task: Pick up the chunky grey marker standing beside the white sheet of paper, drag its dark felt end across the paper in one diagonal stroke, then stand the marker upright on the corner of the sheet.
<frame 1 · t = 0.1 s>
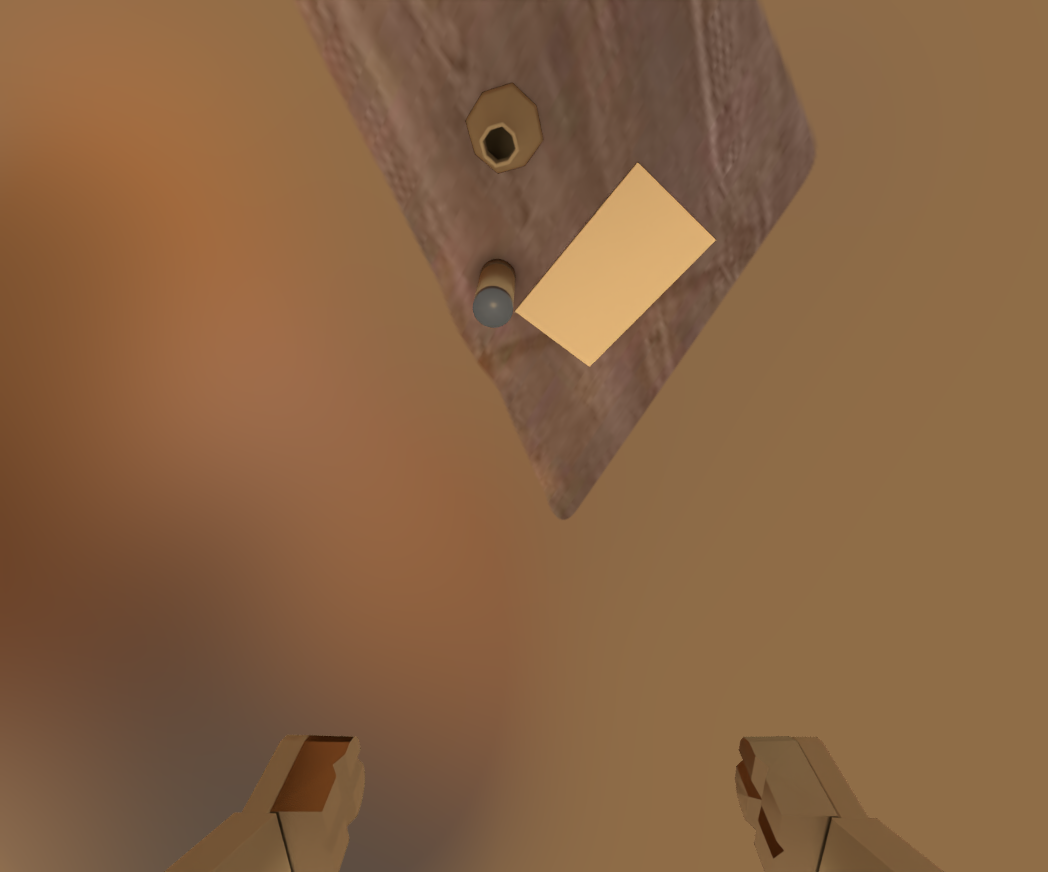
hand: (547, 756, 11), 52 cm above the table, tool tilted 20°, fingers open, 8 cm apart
paper: (610, 276, 57), on the table
flask: (504, 129, 48), on the table
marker: (497, 276, 57), on the table
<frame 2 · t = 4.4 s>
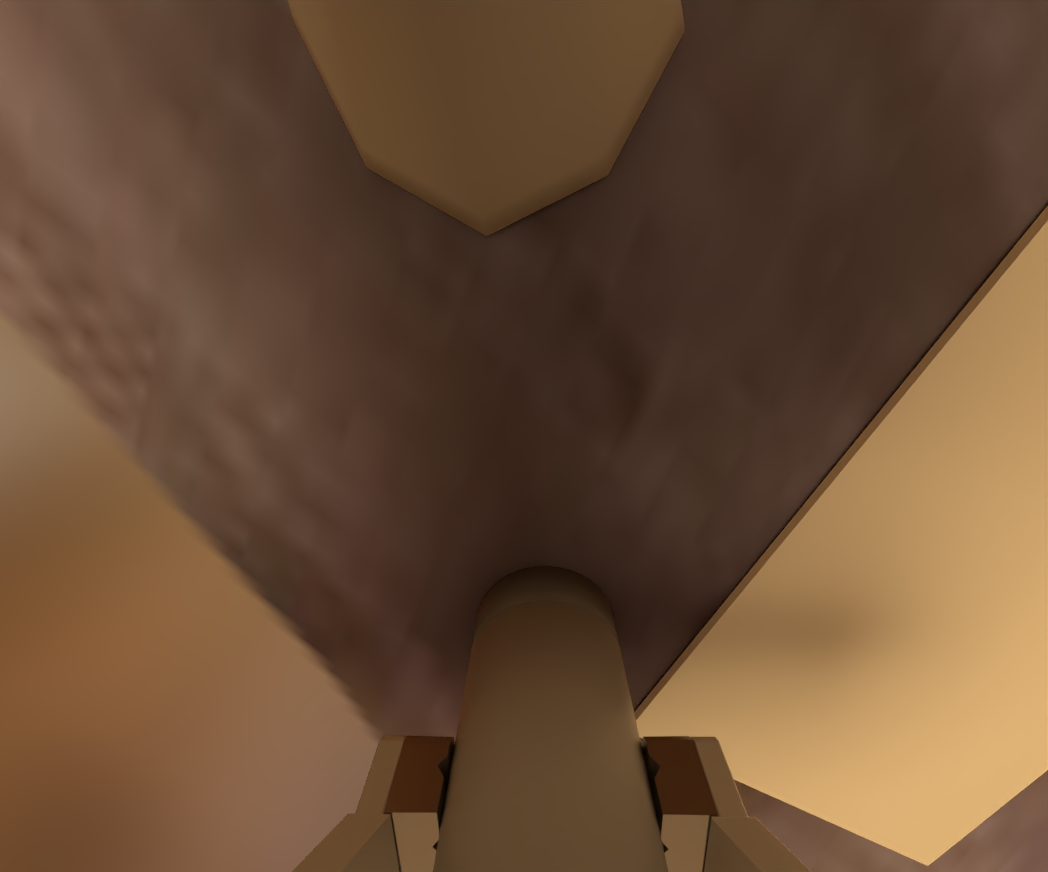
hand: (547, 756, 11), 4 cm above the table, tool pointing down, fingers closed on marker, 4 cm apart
paper: (1012, 564, 13), on the table
flask: (490, 35, 10), on the table
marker: (544, 625, 15), on the table, touching gripper
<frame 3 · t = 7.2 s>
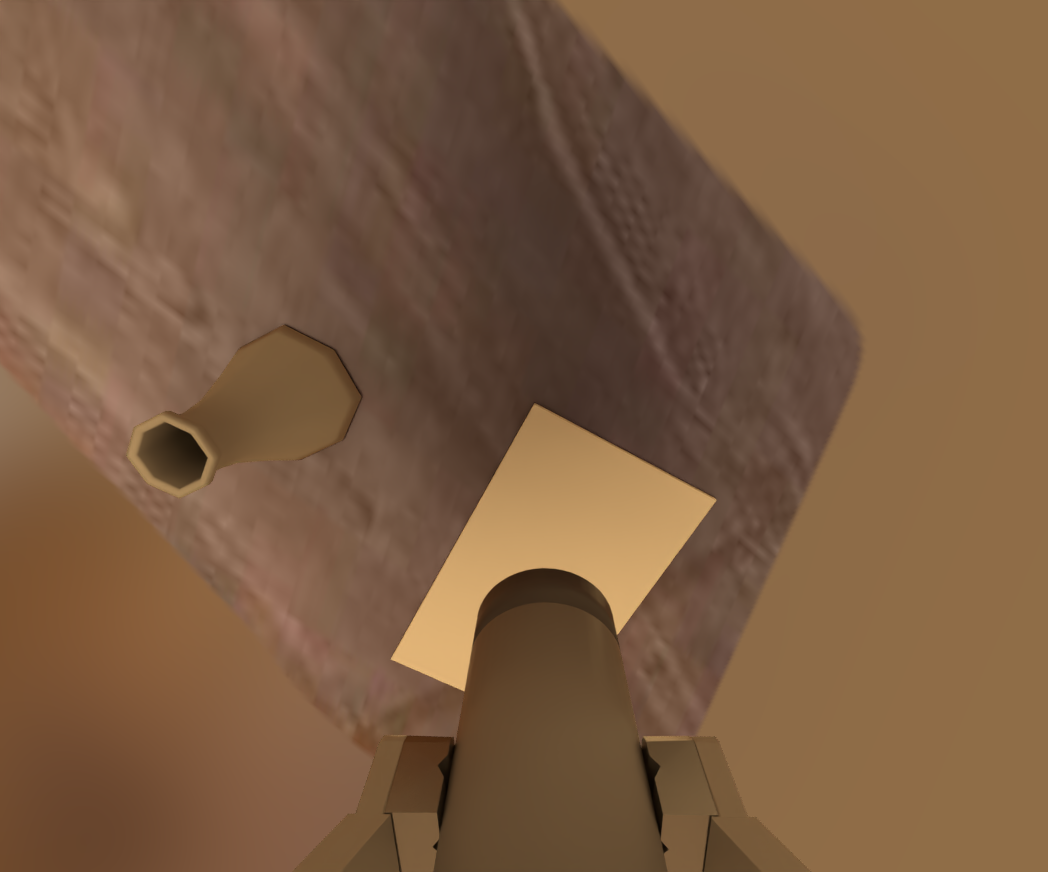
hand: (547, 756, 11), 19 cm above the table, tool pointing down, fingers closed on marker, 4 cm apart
paper: (542, 582, 31), on the table
flask: (296, 393, 28), on the table
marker: (544, 627, 15), point 15 cm above the table, touching gripper
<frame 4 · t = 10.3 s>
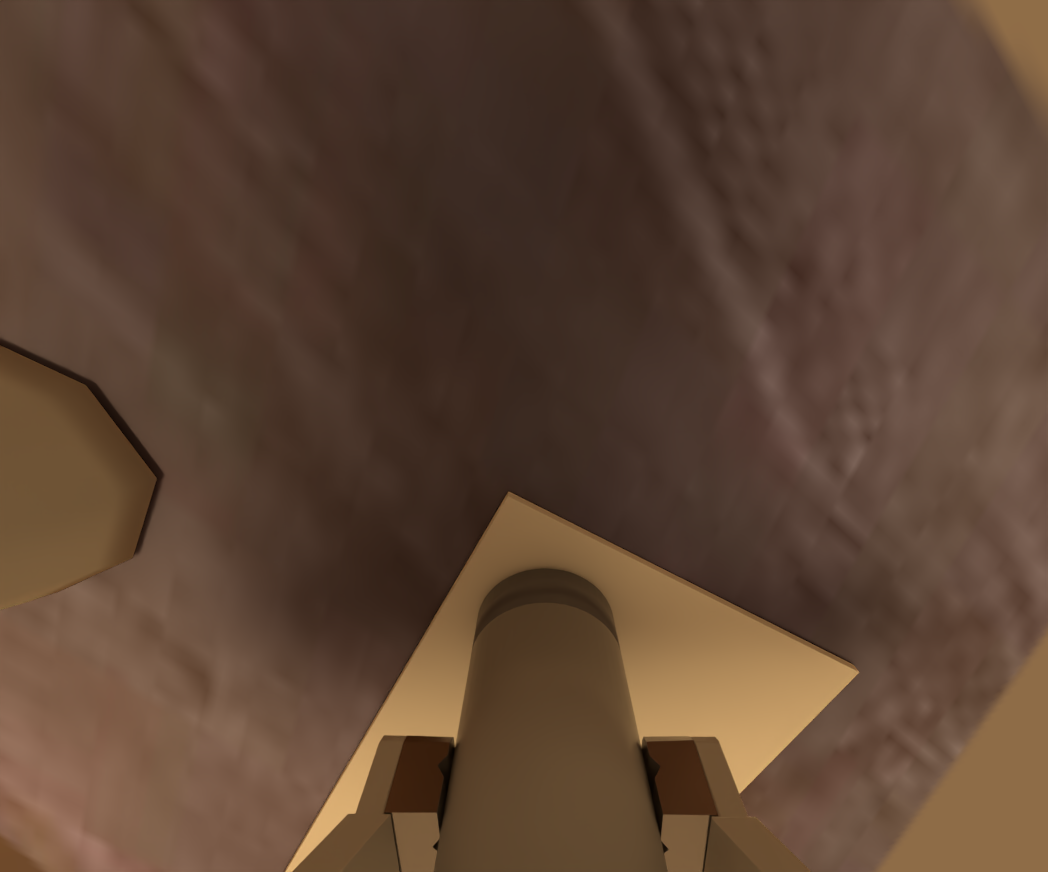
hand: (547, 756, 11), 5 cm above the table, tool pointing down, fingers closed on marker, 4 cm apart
paper: (525, 793, 17), on the table
flask: (35, 467, 14), on the table
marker: (545, 627, 15), resting on paper, touching gripper
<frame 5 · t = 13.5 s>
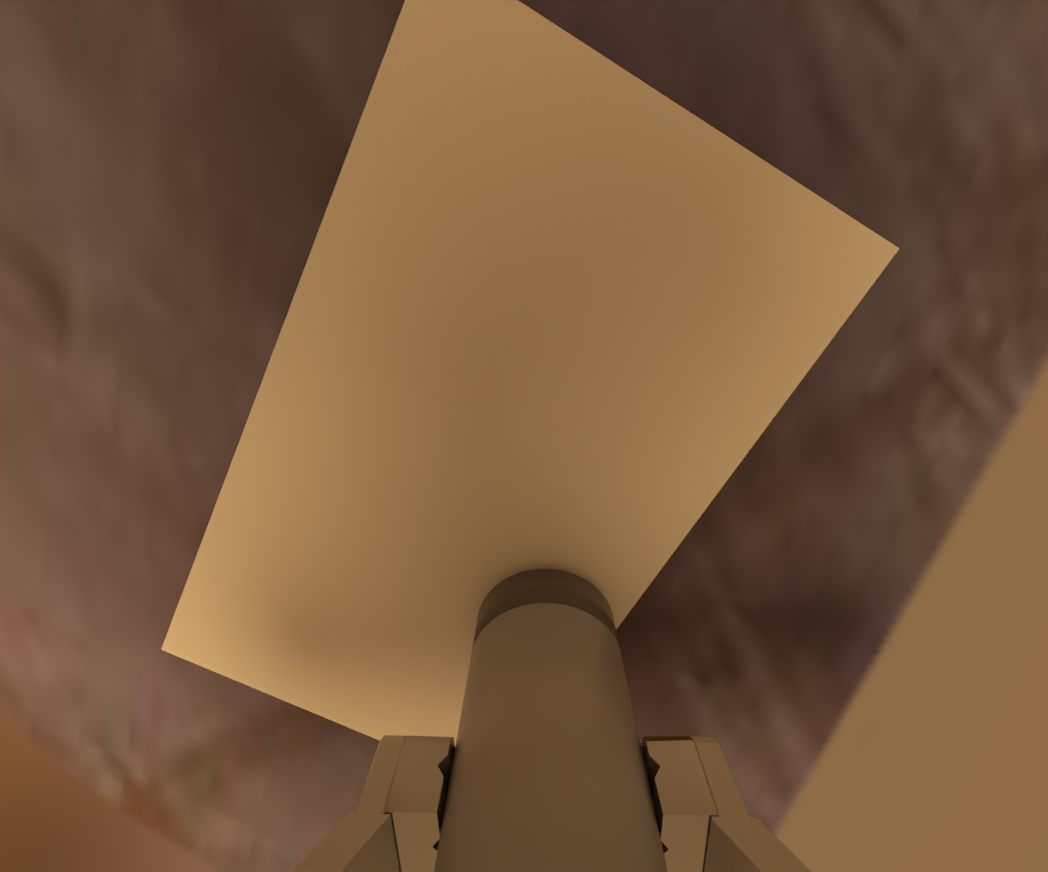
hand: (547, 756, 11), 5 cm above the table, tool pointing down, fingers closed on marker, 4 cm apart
paper: (473, 476, 14), on the table
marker: (545, 627, 15), point 1 cm above the table, touching gripper
when the fingers open (6 cm above the table, at t = 16.4 s): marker drops 1 cm, resting on paper.
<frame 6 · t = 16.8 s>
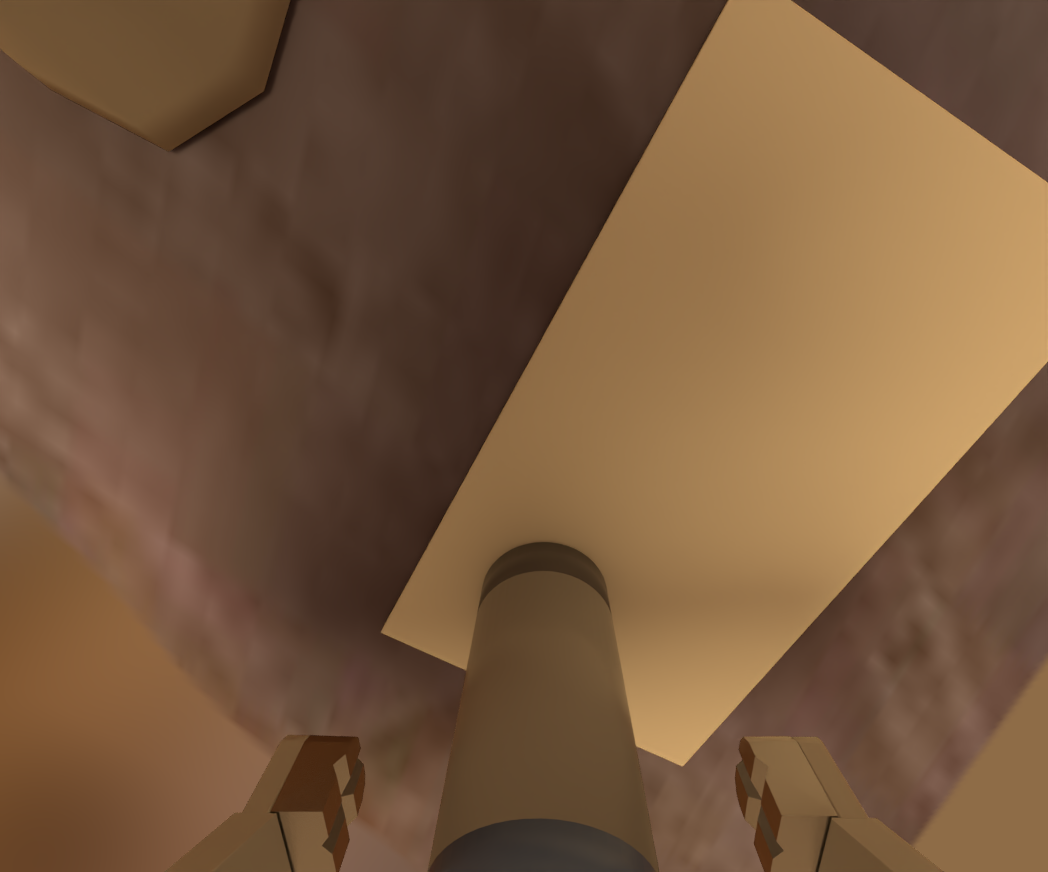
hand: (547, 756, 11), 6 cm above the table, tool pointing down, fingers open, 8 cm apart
paper: (702, 467, 15), on the table
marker: (544, 596, 16), resting on paper
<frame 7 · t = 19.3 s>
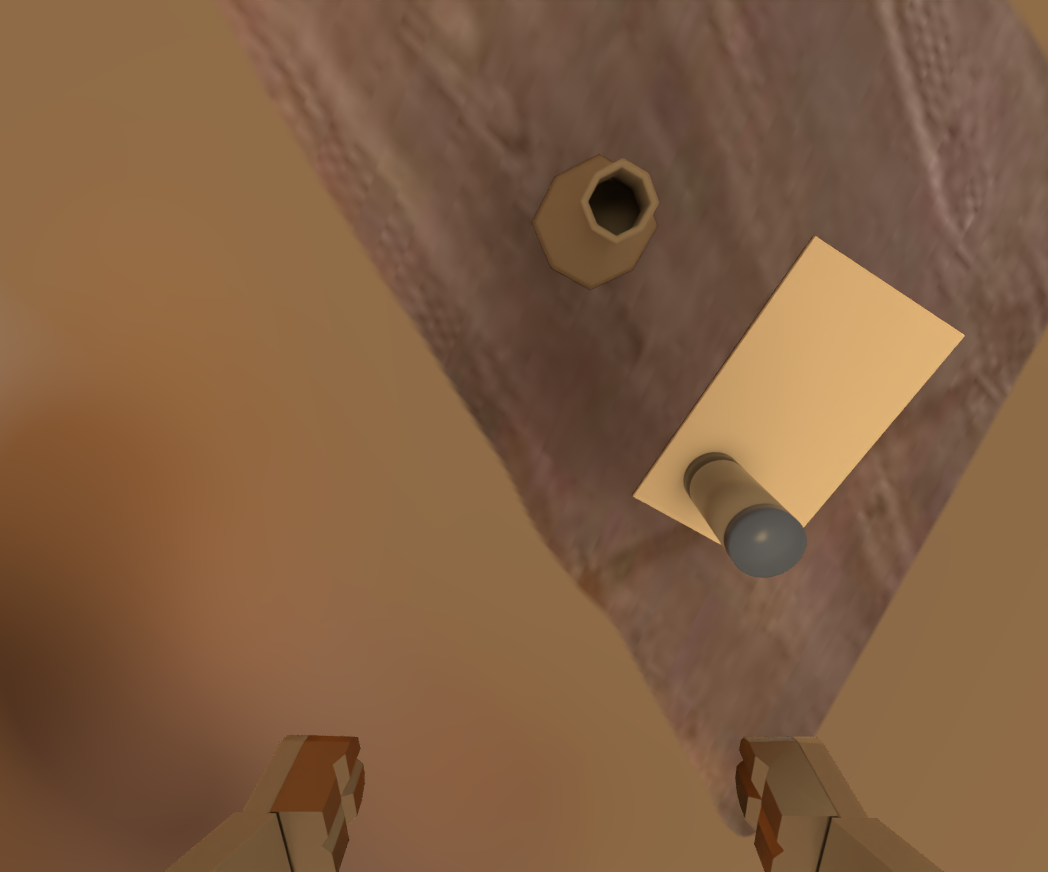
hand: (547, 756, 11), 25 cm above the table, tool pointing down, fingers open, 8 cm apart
paper: (787, 419, 34), on the table
flask: (593, 225, 31), on the table
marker: (712, 478, 35), resting on paper
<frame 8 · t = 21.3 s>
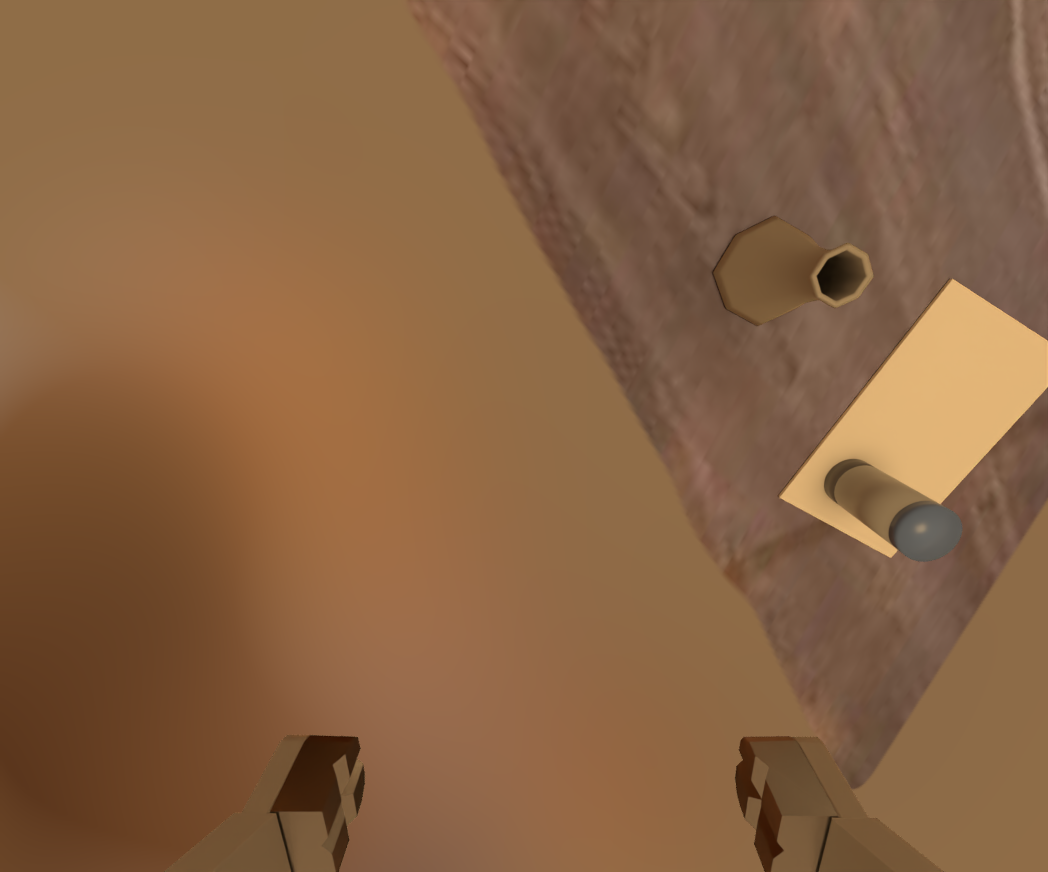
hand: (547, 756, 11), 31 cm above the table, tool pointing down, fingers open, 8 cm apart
paper: (916, 430, 40), on the table
flask: (763, 272, 37), on the table
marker: (848, 481, 41), resting on paper
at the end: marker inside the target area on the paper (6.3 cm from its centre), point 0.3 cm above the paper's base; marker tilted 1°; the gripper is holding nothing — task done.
